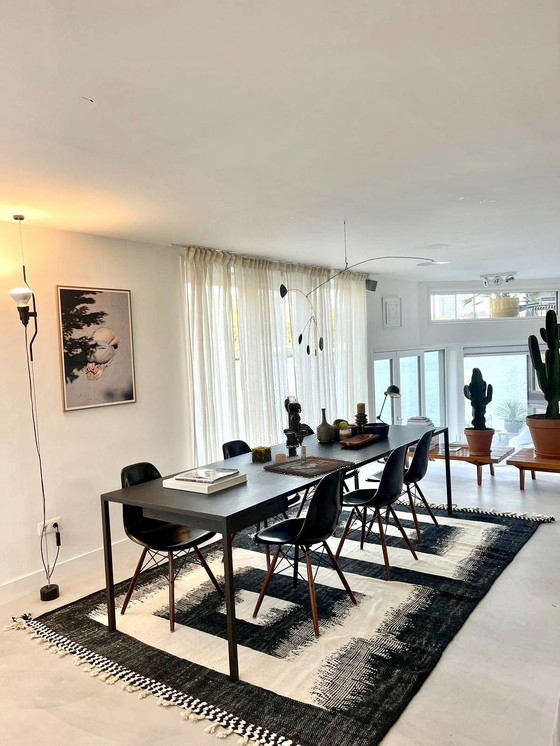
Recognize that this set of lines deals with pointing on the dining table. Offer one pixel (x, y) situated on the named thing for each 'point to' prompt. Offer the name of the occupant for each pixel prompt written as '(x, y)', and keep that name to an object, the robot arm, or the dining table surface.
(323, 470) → the religious icon
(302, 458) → the birch pin
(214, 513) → the dining table surface
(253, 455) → the candle
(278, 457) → the terracotta cup
